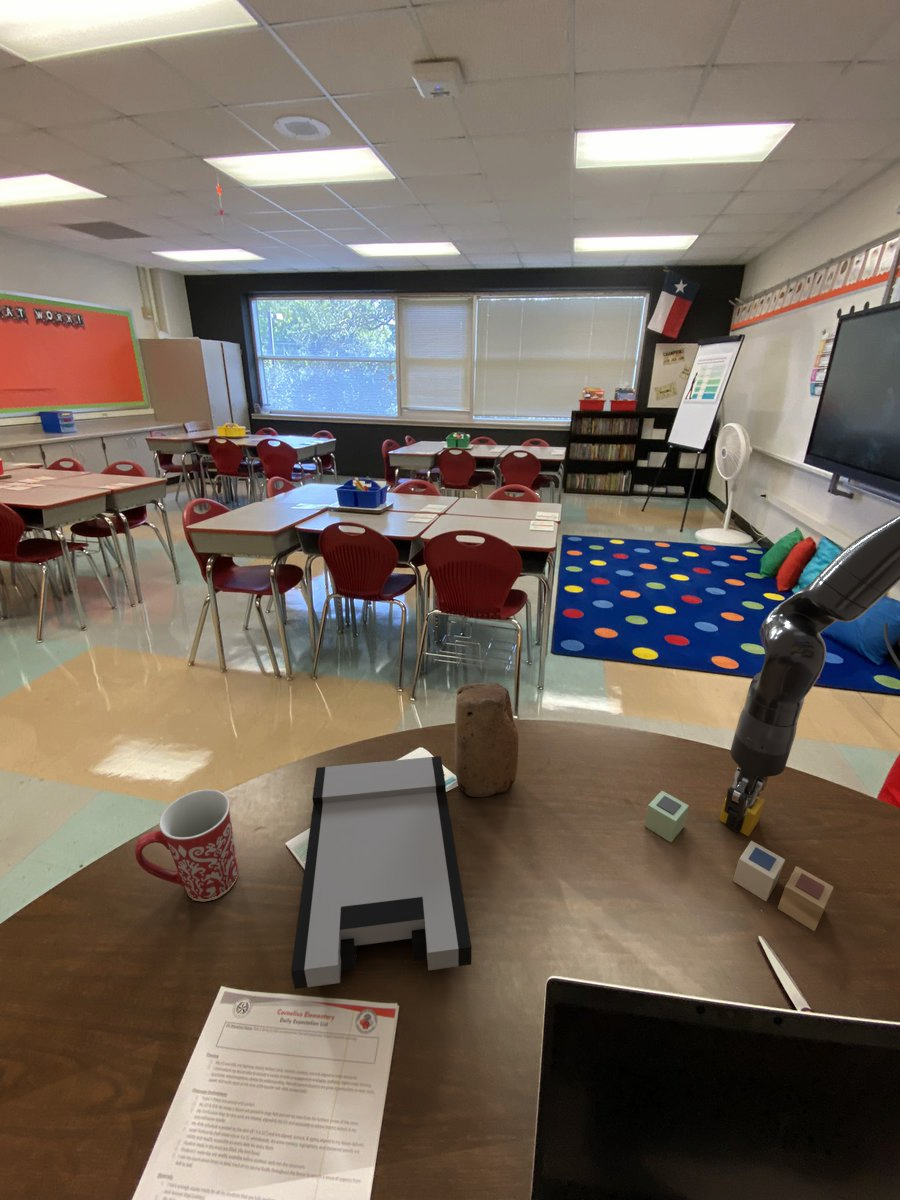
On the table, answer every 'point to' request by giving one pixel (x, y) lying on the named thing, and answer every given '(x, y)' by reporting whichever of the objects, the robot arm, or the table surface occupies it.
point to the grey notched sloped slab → (379, 870)
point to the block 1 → (485, 740)
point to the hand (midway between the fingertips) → (739, 819)
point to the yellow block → (751, 816)
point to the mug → (195, 844)
